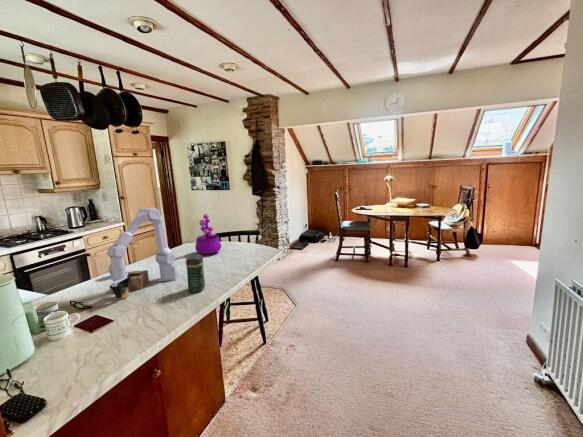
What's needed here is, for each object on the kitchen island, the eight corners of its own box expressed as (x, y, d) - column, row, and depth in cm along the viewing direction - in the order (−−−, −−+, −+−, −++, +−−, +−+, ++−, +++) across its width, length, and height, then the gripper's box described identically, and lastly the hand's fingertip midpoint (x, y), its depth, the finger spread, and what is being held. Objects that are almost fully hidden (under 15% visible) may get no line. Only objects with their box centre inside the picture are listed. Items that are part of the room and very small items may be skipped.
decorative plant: (207, 258, 207) (204, 216, 201) (190, 254, 217) (186, 215, 211) (226, 251, 222) (223, 212, 217) (210, 248, 232) (207, 211, 227)
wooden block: (129, 296, 148) (128, 286, 147) (127, 298, 145) (125, 289, 144) (118, 297, 147) (117, 287, 147) (116, 299, 145) (114, 290, 144)
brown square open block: (148, 280, 168) (147, 270, 167) (141, 289, 156) (140, 277, 155) (126, 282, 166) (125, 271, 165) (117, 291, 154) (116, 279, 153)
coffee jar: (202, 292, 149) (199, 258, 146) (186, 293, 149) (183, 259, 145) (206, 285, 159) (204, 252, 155) (192, 286, 158) (189, 253, 155)
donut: (113, 279, 172) (110, 263, 170) (108, 278, 173) (106, 262, 171) (126, 273, 181) (124, 257, 180) (121, 272, 182) (119, 257, 180)
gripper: (116, 264, 150) (119, 289, 152) (103, 274, 136) (107, 301, 138) (130, 263, 151) (134, 288, 154) (119, 273, 137) (122, 300, 139)
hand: (122, 294), depth 146 cm, fingers open, 7 cm apart
